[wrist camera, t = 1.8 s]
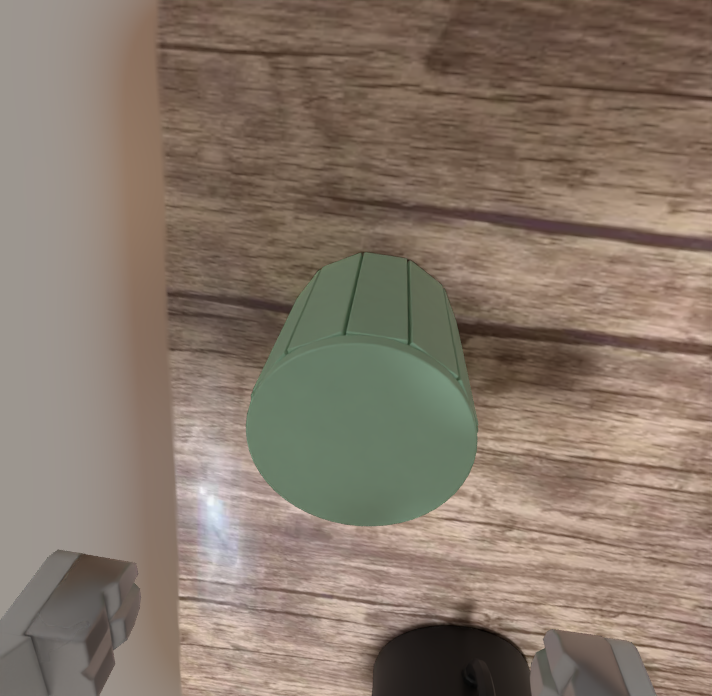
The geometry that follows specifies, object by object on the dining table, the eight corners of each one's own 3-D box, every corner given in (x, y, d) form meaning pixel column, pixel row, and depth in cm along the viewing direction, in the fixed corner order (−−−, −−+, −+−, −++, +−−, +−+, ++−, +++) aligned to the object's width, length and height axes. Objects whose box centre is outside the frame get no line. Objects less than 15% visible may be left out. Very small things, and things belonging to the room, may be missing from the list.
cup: (299, 242, 18) (247, 325, 12) (471, 267, 18) (506, 364, 12) (289, 385, 21) (243, 509, 15) (436, 408, 21) (448, 541, 15)
